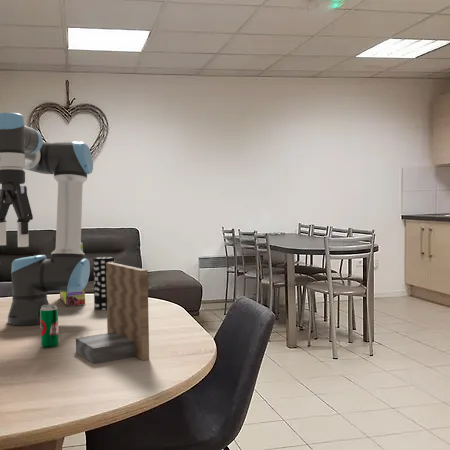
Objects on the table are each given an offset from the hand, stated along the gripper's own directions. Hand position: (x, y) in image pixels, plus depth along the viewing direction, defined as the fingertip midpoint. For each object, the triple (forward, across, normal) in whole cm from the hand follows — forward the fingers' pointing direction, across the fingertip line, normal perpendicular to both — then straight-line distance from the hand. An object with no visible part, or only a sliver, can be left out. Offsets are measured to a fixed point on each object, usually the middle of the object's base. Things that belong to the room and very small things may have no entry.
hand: (11, 246), depth 157 cm
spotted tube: (+28, -40, +56) cm, 74 cm away
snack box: (+28, -63, +55) cm, 88 cm away
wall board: (+30, +19, +19) cm, 40 cm away
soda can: (+30, -1, +12) cm, 32 cm away
